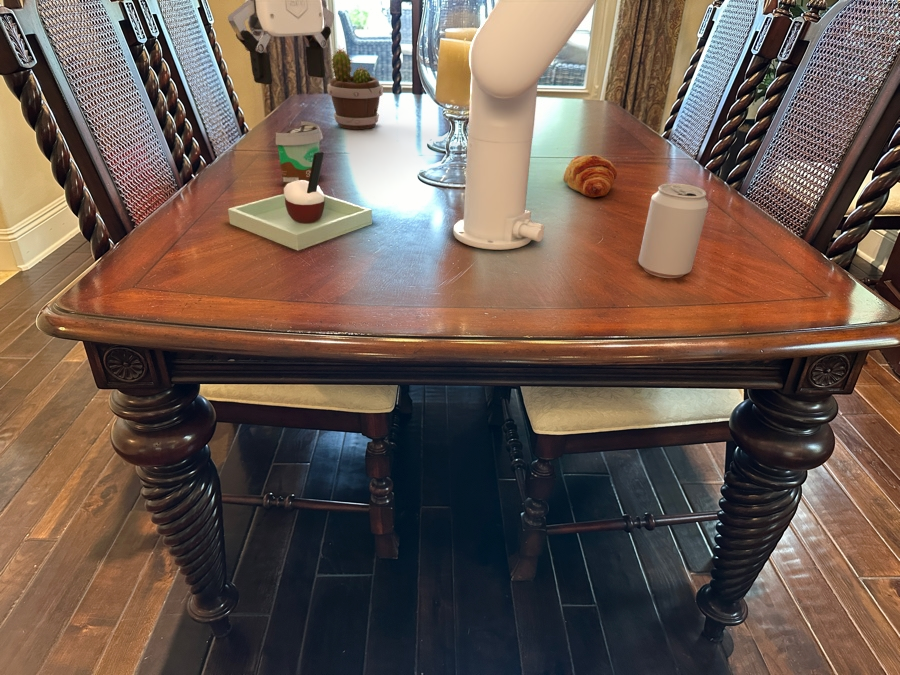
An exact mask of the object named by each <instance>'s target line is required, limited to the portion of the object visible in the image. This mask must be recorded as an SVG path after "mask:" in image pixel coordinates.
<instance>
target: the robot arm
mask: <svg viewBox="0 0 900 675" xmlns="http://www.w3.org/2000/svg"><path fill="white" fill-rule="evenodd" d="M596 2H597V0H498V1H497V2H496V4H495V5H494V7H493V8H492V9H491V11H490V13H489V15H488V16H487V17H486V19H485V20H484V21H483V23H482V24H481V25H480V26H479V28H478V29H477V30H476V33H475V35H474V37H473V38H472V40H471V44H470V48H469V53H468V63H469V64H468V65H469V69H470V73H471V74H470V92H469V93H470V94H469V110H468V127H467V128H468V130H467V144H466V163H465V165H466V166H465V186H464V187H465V188H464V205H463V206H464V207H463V219H460V220H458V221H457V222H456V223H455V224H454V225H453V229H452V230H453V231H452V232H453V234H452V235H453V236H454V238H455V239H456V240H458V242H460V243H462V244H464V245H467V246H470V247H473V248H477V249H482V250H493V251H494V250H495V251H503V250H513V249H519V248H521V247H524V246H526V245H528V244H529V243H530V242H531V241H535V242H537V243H538V242H541V241H542V240H543V238H544V235H545V234H544V233H545V232H544V231H545V225H544V224H542V223H538V222H534V221H532V220H531V215H532V211H531V210H527V209H526V203H527V195H528V184H529V176H530V165H531V156H532V155H531V154H532V145H533V137H534V128H535V120H536V108H537V97H538V84H539V80H540V79H541V77H542V76H543V75H544V74H545V72H546V71H547V70H548V69H549V67H550V66H551V65H552V63H553V61H555V59H556V58H557V57H558V55H559V54H560V52H561V51H562V50H563V48H564V47H565V46H566V44H567V43H568V41H569V40H570V39H571V38H572V36H573V35H574V33H575V32H576V31H577V29H578V28H579V27H580V25H581V24H582V22H583V21H584V20H585V18H586V17H587V15H588V14H589V13H590V11H591V10H592V7H593V6H594V5H595V3H596ZM334 19H335V14H334V13H333V12H332V11H331V10H330V9H328V8H327V7H325V6H324V5H323V1H322V0H244V3H243V4H241V5H239V7H238V8H236V9H235V10H234V11H233V12H231V13H230V14H229V15H228V16H227V22H229V25H230V26H231V29H232V30H233V32H234V33H235V37H236V39H237V40H238V41H239V42H240V43H241V44H242V45H243V47H244V49H245V51H247V52H249V56H250V58H249V59H250V64H251V74H252V75H253V81H254V82H255V83H256V84H262V85H271V84H273V77H272V76H273V75H272V68H271V67H272V66H271V58H270V54H269V52H266V51H265V50H266V48H267V47H268V44H269V42H270V40H271V38H272V37H277V38H278V37H280V38H281V37H301V36H302V38H303V39H304V40H305V42H306V43H307V44H308V46H305V59H306V71H307V75H308V76H309V77H312V78H313V77H314V78H319V79H322V78H325V77H326V68H325V54H324V49H325V48H326V47H327V46H328V45H327V44H328V42H327V41H328V39H329V38H330V36H331V34H332V27H333V23H334ZM246 22H247V25H248V29H249V30H248V29H247V25H246Z"/></svg>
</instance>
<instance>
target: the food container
mask: <svg viewBox="0 0 900 675" xmlns="http://www.w3.org/2000/svg"><path fill="white" fill-rule="evenodd" d="M322 140H323V134H322V130H321V128H320V125H319V124H317V123H314V122H310V121H306V120H305V121H302V120H301V121H300V126H299V127H297V128H290V129H289V130H287V131H286V132H275V145H276V146H277V150H278V158H279V164H280V171H281V177H282V184H283V186H284V187H285V186H286V185H287V184H288V183H291V182H293V181H298V180H306V181H308V182H309V178H310V173H311V168H312V163H313V157H314V154H315V153H318V152H320V141H322Z"/></svg>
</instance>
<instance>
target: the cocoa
mask: <svg viewBox="0 0 900 675" xmlns="http://www.w3.org/2000/svg"><path fill="white" fill-rule="evenodd" d="M324 156H325V152H323V151H319V152H318V153H315V154H314V157H313V163H312V168H311V173H310V178H309V182H308V181H306V180H298V181H293V182H291V183H288V184H287V185H286V186H284V187H283V194H284V195H285V205H286V209H287V212H288V214H289V215H290V217H291V218H292V219H293V220H295V221H296V222H299V223H313V222H315V221H317V220H319V219H320V218H321V216H322V214H323V210H324V205H325V198H324V195H325V194H324V192H323V190H322V188H321V187H320V186H319V180H320V176H321V171H322V167H323V160H324ZM323 194H324V195H323Z"/></svg>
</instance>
